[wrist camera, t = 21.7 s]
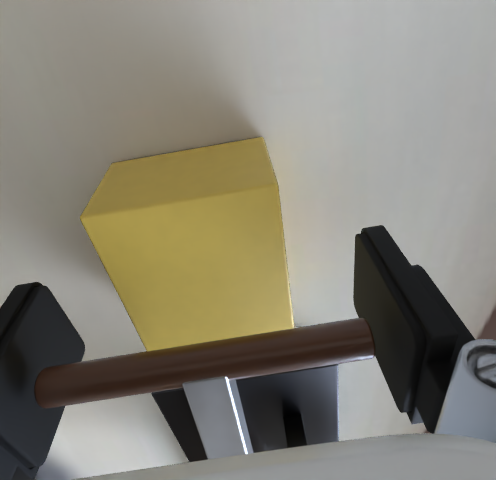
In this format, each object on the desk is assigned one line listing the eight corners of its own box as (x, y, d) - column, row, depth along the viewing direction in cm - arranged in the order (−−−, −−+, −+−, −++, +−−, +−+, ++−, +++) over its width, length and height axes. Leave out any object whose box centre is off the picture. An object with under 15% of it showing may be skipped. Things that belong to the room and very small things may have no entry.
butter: (263, 135, 11) (278, 183, 9) (283, 292, 16) (298, 358, 13) (110, 162, 12) (77, 217, 9) (170, 310, 16) (160, 380, 13)
